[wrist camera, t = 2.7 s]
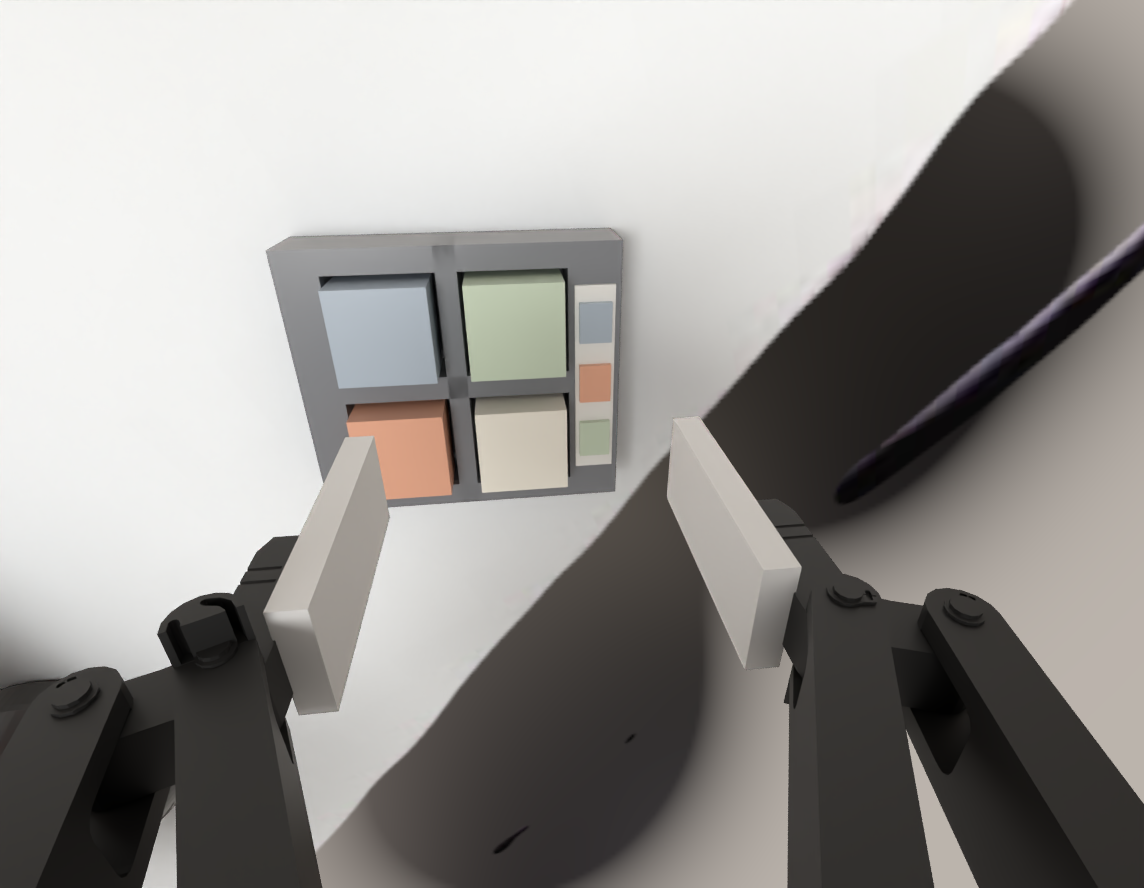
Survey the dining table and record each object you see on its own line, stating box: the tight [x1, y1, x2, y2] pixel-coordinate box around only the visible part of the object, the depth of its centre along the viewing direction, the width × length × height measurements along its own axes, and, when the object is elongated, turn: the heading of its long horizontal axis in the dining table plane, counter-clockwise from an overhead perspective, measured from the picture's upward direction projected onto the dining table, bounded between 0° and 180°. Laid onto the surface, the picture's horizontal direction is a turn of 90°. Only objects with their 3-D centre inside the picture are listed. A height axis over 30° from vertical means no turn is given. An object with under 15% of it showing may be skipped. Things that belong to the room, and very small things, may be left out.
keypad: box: [266, 228, 623, 507], centre depth 32 cm, size 14×16×4 cm
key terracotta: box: [346, 399, 455, 499], centre depth 32 cm, size 5×5×3 cm
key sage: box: [462, 268, 566, 382], centre depth 29 cm, size 5×5×3 cm
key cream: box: [475, 393, 568, 493], centre depth 32 cm, size 5×5×3 cm
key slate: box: [318, 273, 442, 389], centre depth 29 cm, size 5×5×3 cm
